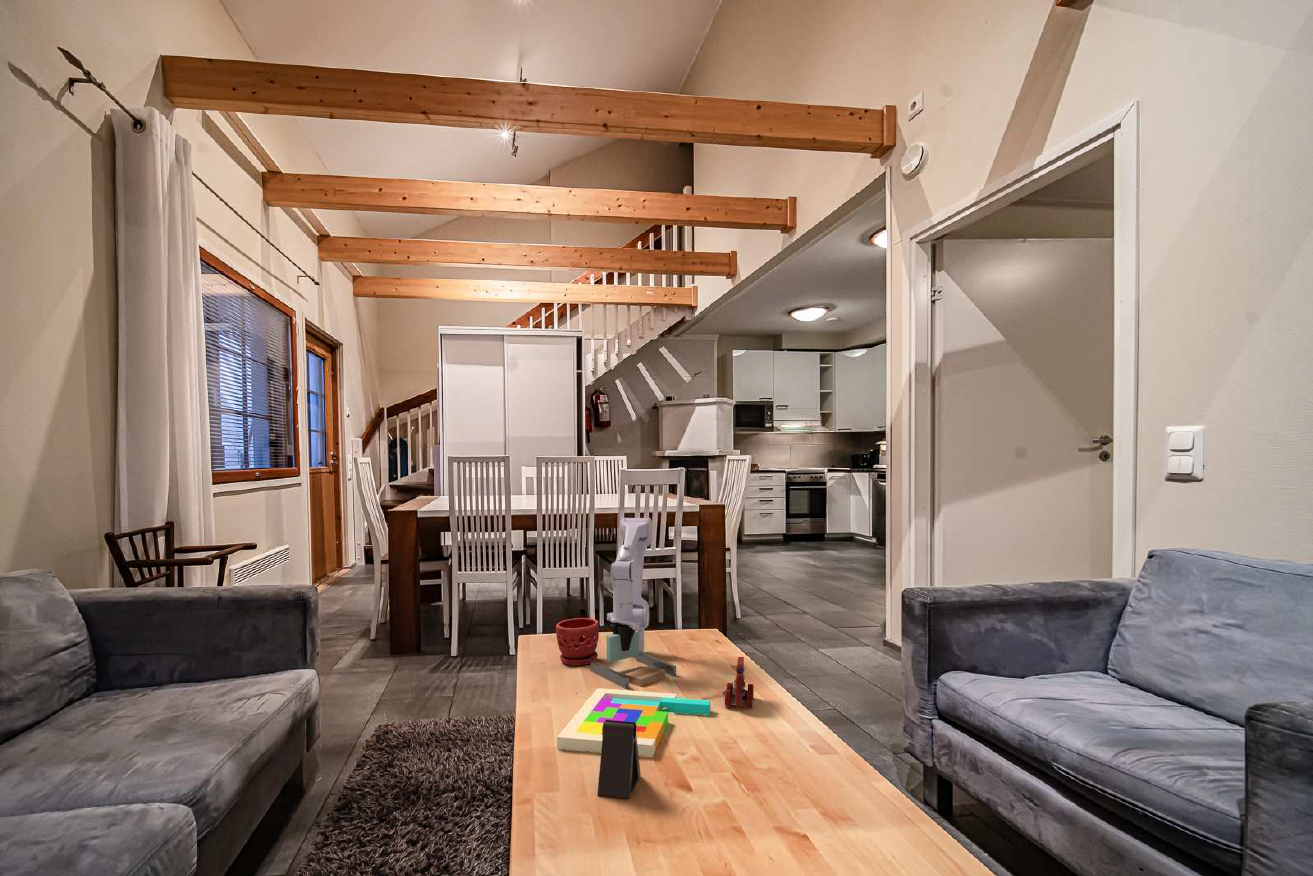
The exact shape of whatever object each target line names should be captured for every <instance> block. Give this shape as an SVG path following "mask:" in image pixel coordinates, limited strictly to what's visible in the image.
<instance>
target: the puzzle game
mask: <svg viewBox="0 0 1313 876" xmlns="http://www.w3.org/2000/svg"><path fill="white" fill-rule="evenodd" d="M677 695H678V694H677V693H670V692H669V693H668V692H657V691H642V690H641V691H640V690H629V689H612V688H601V687H599V688H596V689H595V691H593V693H592V694H591V695H590V697H589V698H588V699H587V700H586V702H585V703H584V704H583V705H582V706H581V707H580V708H579V710H578V711H577V712H576V713H575V715H574V716H573V717H572V718H571V720H570V721H568V723H567V725H565V727H564V728H563V729H562V730H561V732H559V734H558V735H557V736H556V749H557V750H563V749H565V751H574V750H575V751H574V752H585V751H591V752H590V753H596V752H601V750H602V728H603V723H604V722H606V721H605V720H615V721H626V722H636V727H637V729H636V736H637V746H638V755H639V757H640V756H642V757H641V758H653V757H654V755H655V752H656V750H657V749H658V746H659V744H660V741H661V740H662V737H663V736H664V733H665V731H666V729H667V727H668V724H669V712H673V714H682V713H684V714H685V715H695V714H706V715H705V716H708V715H709V716H710V713H711V711H710V710H711V700H706V699H705V700H704V699H695V698H694V699H693V698H680V697H678V698H677ZM661 707H666V708H662V709H660V708H661ZM665 728H666V729H665ZM656 748H657V749H656Z"/></svg>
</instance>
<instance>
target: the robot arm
mask: <svg viewBox="0 0 1313 876" xmlns="http://www.w3.org/2000/svg"><path fill="white" fill-rule="evenodd" d="M620 534H621V538H622V542H623V544H622V545H621V546H620V547H619V549H618V552H617V555H616V559H615V561H614V562H612V563H611V567H610V579H611V587H612V588H613V589H612V590H613V591H612V593H613V594H612V595H613V596H612V598H613V599H612V603H613V605H612V607H613V608H612V609H613V611H612V612H608V613H607V612H606V613H607V614H606V620H607V621H609V622H611V624H609V629H610V630H611V632H612V635H613V634H618V633H619V634H620V638H621V648H622V651H628V650H629V648H630V644H631V640H632V637H633V635H634V633H635V631H639V651H641V652H643V653H645V629H647V628H648V626H649V623H650V604H649V602H648V601H647V600H645V599H644V598H643V597H642V590H643V589H642V588H643V575H644V563H645V560H644V559H645V551H646V548H647V547H649V546H651V544H652V540H653V521H652V519H651V517H644V518H643V517H623V518H622V519H621V521H620Z"/></svg>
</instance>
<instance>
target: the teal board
mask: <svg viewBox="0 0 1313 876" xmlns="http://www.w3.org/2000/svg"><path fill="white" fill-rule="evenodd" d="M636 656H639V631H635V633H634V635H633V637H632V640H631V644H630V648H629V650H628V651H622V648H621V638H620V634H619V633H618V634H613V633H612V634H609V635H606V661H607V662H608V663H612V662H617V661H621V660H625V659H629V658H633V657H636Z"/></svg>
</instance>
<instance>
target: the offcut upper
mask: <svg viewBox="0 0 1313 876" xmlns="http://www.w3.org/2000/svg"><path fill="white" fill-rule="evenodd" d="M624 676H626V677H629V684H632V685H633V686H634V685H635V686H638V687H643V686H645V685H648V684H650V683H654V682H656V681H660V680H661V679H664V678H666V673H665V670H663V669H659V668H656V667H653V666H648V665H646V666H645V667H642V668H639V669H635V670H633V671H630V672H627V673H624Z"/></svg>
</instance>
